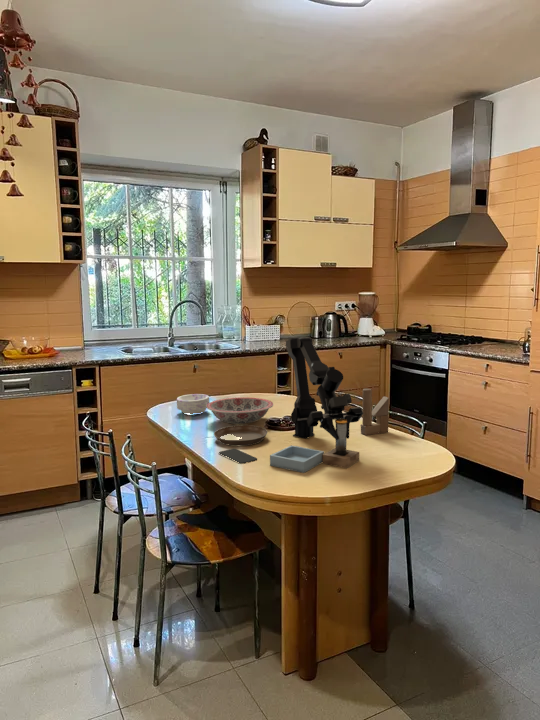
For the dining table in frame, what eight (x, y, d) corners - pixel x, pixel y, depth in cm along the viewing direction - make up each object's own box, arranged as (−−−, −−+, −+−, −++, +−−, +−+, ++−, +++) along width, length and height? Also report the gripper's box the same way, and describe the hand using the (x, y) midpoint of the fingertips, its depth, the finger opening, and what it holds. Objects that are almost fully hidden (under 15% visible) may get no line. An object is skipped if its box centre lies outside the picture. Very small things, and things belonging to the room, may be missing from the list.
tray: (270, 465, 175) (269, 455, 174) (291, 455, 185) (291, 445, 185) (303, 472, 167) (303, 462, 167) (324, 461, 178) (324, 451, 177)
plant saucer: (250, 451, 192) (249, 442, 191) (203, 443, 202) (203, 435, 201) (277, 436, 209) (277, 428, 209) (233, 430, 219) (233, 422, 219)
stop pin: (332, 457, 176) (332, 420, 175) (338, 454, 180) (338, 418, 178) (343, 459, 174) (343, 422, 172) (349, 456, 177) (349, 419, 176)
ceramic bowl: (194, 427, 224) (193, 409, 223) (225, 412, 251) (225, 395, 250) (257, 433, 213) (257, 414, 212) (283, 416, 240) (283, 399, 239)
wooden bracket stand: (388, 432, 211) (389, 388, 209) (365, 435, 207) (365, 390, 205) (383, 430, 215) (383, 386, 212) (360, 433, 211) (360, 388, 208)
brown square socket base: (322, 463, 176) (322, 454, 176) (335, 456, 183) (335, 447, 183) (346, 468, 171) (346, 459, 170) (359, 460, 178) (359, 451, 178)
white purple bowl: (170, 415, 246) (170, 399, 245) (188, 408, 260) (187, 392, 258) (199, 418, 240) (198, 401, 239) (215, 411, 254) (215, 394, 253)
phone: (240, 463, 177) (217, 452, 189) (240, 465, 177) (217, 454, 189) (258, 458, 181) (234, 448, 193) (258, 461, 181) (234, 450, 193)
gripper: (310, 388, 174) (323, 429, 166) (361, 384, 180) (376, 423, 171) (301, 406, 183) (314, 446, 174) (350, 401, 189) (365, 440, 180)
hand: (342, 438), depth 175 cm, fingers closed on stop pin, 4 cm apart
